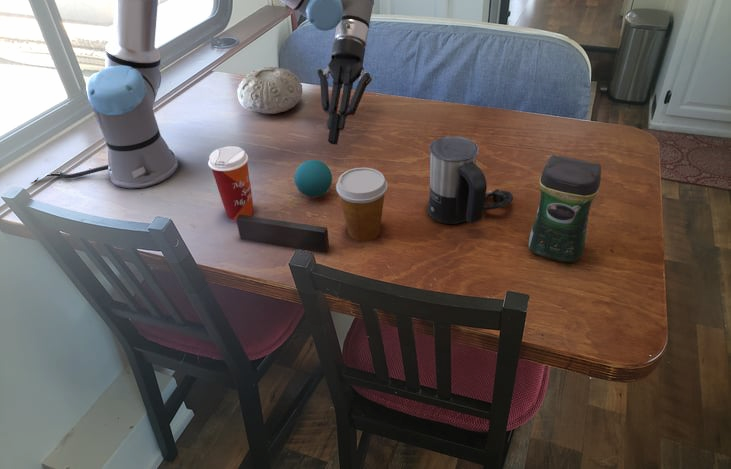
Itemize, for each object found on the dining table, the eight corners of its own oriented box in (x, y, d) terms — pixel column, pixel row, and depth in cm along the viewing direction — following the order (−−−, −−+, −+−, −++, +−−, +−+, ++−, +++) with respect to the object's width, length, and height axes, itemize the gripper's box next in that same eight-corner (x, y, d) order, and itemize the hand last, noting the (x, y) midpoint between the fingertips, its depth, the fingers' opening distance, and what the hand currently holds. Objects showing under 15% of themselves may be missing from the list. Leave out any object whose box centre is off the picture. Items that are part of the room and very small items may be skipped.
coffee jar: (585, 243, 101) (609, 157, 90) (577, 269, 96) (601, 181, 84) (533, 230, 105) (550, 145, 93) (523, 254, 99) (539, 168, 88)
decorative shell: (276, 127, 143) (271, 91, 136) (226, 113, 150) (219, 79, 144) (316, 100, 154) (312, 66, 148) (268, 89, 162) (262, 56, 156)
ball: (291, 202, 116) (286, 170, 111) (304, 181, 122) (300, 150, 117) (326, 207, 114) (323, 174, 109) (338, 186, 120) (335, 154, 115)
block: (240, 239, 106) (235, 219, 103) (244, 234, 108) (239, 214, 104) (326, 253, 102) (324, 232, 99) (329, 247, 103) (327, 227, 100)
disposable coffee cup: (360, 210, 112) (358, 161, 104) (397, 227, 107) (397, 176, 100) (330, 234, 106) (324, 183, 99) (367, 253, 102) (364, 200, 94)
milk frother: (417, 211, 111) (419, 148, 102) (464, 180, 119) (470, 119, 110) (474, 241, 103) (481, 175, 94) (520, 205, 111) (531, 142, 102)
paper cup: (251, 225, 110) (238, 166, 101) (215, 222, 111) (200, 163, 102) (264, 203, 116) (253, 145, 107) (230, 200, 117) (216, 143, 108)
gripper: (318, 35, 124) (300, 135, 122) (373, 38, 120) (355, 141, 119) (328, 50, 131) (311, 144, 129) (380, 53, 128) (363, 150, 126)
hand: (332, 142), depth 124 cm, fingers closed
